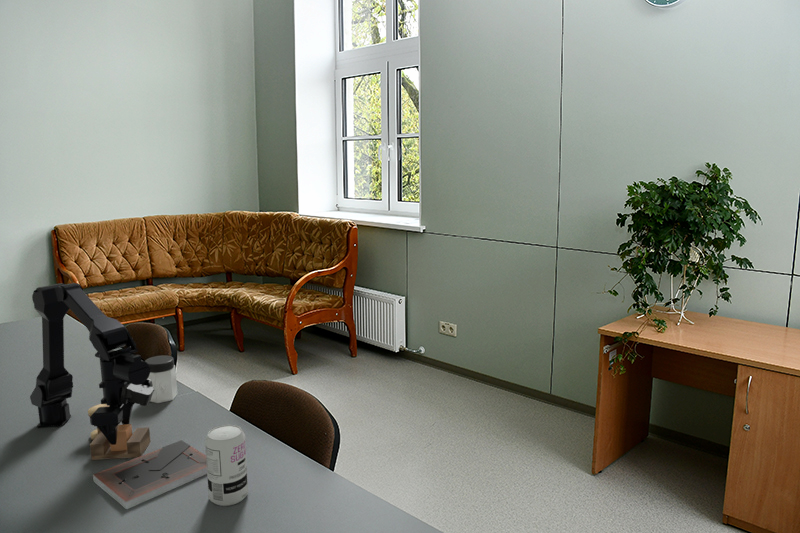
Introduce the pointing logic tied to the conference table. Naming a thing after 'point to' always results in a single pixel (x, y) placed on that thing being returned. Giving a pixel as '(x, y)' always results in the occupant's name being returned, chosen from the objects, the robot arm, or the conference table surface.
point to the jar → (162, 378)
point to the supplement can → (226, 465)
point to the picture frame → (152, 474)
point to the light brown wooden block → (122, 437)
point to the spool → (90, 412)
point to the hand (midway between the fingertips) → (120, 435)
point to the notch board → (134, 449)
